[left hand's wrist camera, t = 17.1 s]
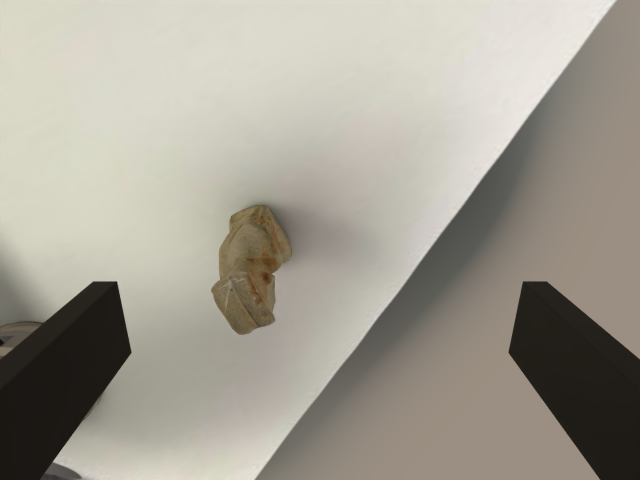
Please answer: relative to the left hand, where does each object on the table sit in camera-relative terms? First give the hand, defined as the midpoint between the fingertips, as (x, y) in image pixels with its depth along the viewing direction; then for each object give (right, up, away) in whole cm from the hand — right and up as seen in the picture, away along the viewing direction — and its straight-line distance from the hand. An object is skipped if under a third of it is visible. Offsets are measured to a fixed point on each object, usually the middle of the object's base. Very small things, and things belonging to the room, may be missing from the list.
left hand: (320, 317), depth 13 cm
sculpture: (-6, +4, +30) cm, 31 cm away
